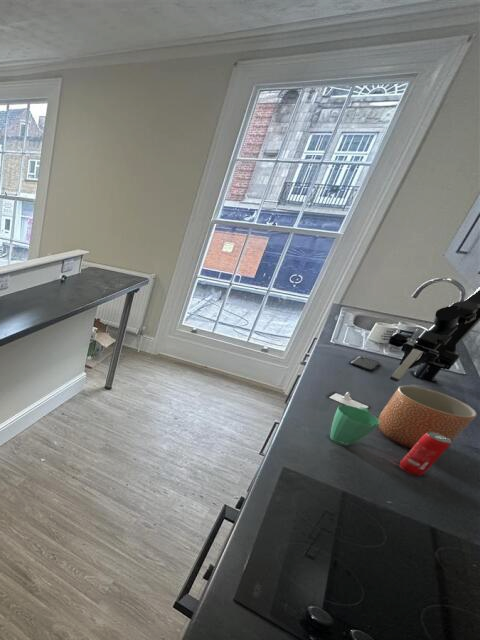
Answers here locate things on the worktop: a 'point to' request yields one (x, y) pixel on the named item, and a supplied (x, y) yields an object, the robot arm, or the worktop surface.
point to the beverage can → (424, 453)
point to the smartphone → (365, 363)
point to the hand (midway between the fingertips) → (404, 366)
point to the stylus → (406, 365)
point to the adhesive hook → (347, 400)
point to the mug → (352, 424)
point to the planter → (423, 415)
